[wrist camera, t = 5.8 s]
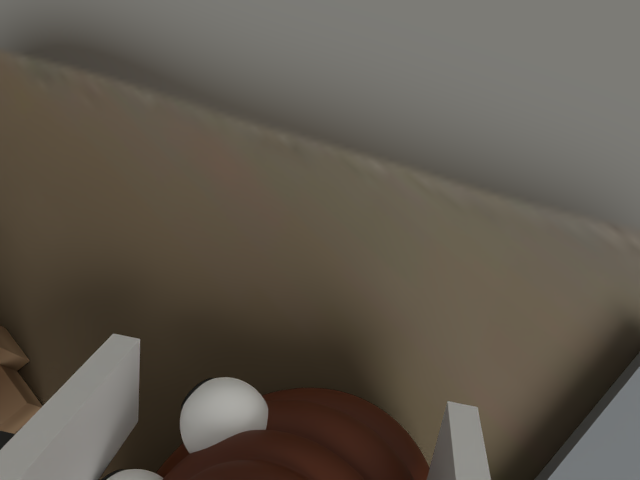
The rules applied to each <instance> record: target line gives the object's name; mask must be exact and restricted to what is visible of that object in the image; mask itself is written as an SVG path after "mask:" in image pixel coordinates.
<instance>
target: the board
mask: <svg viewBox="0 0 640 480" xmlns="http://www.w3.org/2000/svg"><path fill="white" fill-rule="evenodd" d="M535 480H640V352H639V353H638V354H637V356H636V357H635V358H634V359H633V361H632V362H631V363H630V364H629V365H628V367H627V368H626V369H625V370H624V371H623V373H622V374H621V375H620V376H619V378H618V379H617V380H616V381H615V382H614V384H613V385H612V386H611V387H610V388H609V390H608V391H607V392H606V393H605V395H604V396H603V397H602V398H601V399H600V401H599V402H598V403H597V404H596V405H595V407H594V408H593V409H592V410H591V412H590V413H589V414H588V415H587V416H586V418H585V419H584V420H583V421H582V422H581V424H580V425H579V426H578V427H577V429H576V430H575V431H574V432H573V433H572V435H571V436H570V437H569V438H568V439H567V441H566V442H565V443H564V444H563V446H562V447H561V448H560V449H559V450H558V452H557V453H556V454H555V455H554V456H553V458H552V459H551V460H550V461H549V463H548V464H547V465H546V466H545V467H544V469H543V470H542V471H541V472H540V473H539V475H538V476H537V477H536V478H535Z"/></svg>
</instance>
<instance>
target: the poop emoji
mask: <svg viewBox="0 0 640 480" xmlns="http://www.w3.org/2000/svg"><path fill="white" fill-rule="evenodd" d="M181 410H182V411H181V416H180V432H181V437H182V440H183V444H181V445H180V446H179V447H178V448H177V449H176V450H175V452H174V453H173V454H172V455H171V456H170V457H169V458H168V459H167V460H166V461H165V462H164V464H163V465H162V466H161V467H160V469H159V470H158V471H157V473H154V472H151V471H147V470H143V469H128V470H124V469H120V470H117V471H114V472H112V473H110V474H108V475H107V476H105V477H104V478H103V479H101V480H427V477H428V473H429V469H430V468H429V466H428V464H427V462H426V460H425V458H424V456H423V454H422V453H421V451H420V449H419V448H418V446H417V445H416V443H415V442H414V440H413V439H412V438H411V437H410V435H409V434H408V433H407V432H406V431H405V430H404V428H403V427H402V426H401V425H400V424H399V423H398V422H397V421H395V420H394V419H393V418H392V417H391V416H390V415H388V414H387V413H386V412H384V411H383V410H381V409H380V408H378V407H377V406H375V405H373V404H372V403H370V402H368V401H366V400H364V399H362V398H359V397H357V396H354V395H351V394H348V393H345V392H341V391H337V390H331V389H324V388H295V389H287V390H281V391H276V392H272V393H268V394H265V395H261V394H260V393H259V392H258V391H257V390H256V389H255V388H254V387H252V386H251V385H249V384H248V383H246V382H244V381H242V380H239V379H235V378H230V377H220V378H208V379H205V380H204V381H202V382H200V383H199V384H197V385H196V386H195V387H194V388H193V389H192V390H191V391H190V392H189V393H188V394H187V396H186V397H185V399H184V401H183V403H182V405H181Z"/></svg>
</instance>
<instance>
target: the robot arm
mask: <svg viewBox="0 0 640 480" xmlns="http://www.w3.org/2000/svg"><path fill="white" fill-rule="evenodd" d="M139 369H140V339H138V338H133V337H128V336H123V335H118V334H112V335H111V336H110V337H109V338H108V339H107V340H106V341H105V342H104V343H103V345H102V346H101V347H100V348H99V349H98V350H97V351H96V352H95V353H94V354H93V355H92V356H91V357H90V358H89V359H88V360H87V361H86V362H85V363H84V364H83V365H82V366H81V367H80V368H79V369H78V370H77V371H76V372H75V373H74V374H73V375H72V376H71V378H70V379H69V380H68V381H67V382H66V383H65V384H64V385H63V386H62V387H61V388H60V389H59V390H58V391H57V392H56V393H55V394H54V395H53V396H52V397H51V398H50V399H49V400H48V401H47V402H46V403H45V404H44V405H43V406H42V407H41V408H40V409H39V411H38V412H37V413H36V414H35V415H34V416H33V417H32V418H31V419H30V420H29V421H28V422H27V423H26V424H25V425H24V426H23V427H22V428H21V429H20V430H19V431H18V432H17V433H16V434H13V433H8V432H4V431H0V480H98V479H99V478H100V476H101V475H102V473H103V472H104V471H105V469H106V468H107V466H108V465H109V463H110V462H111V460H112V459H113V457H114V456H115V455H116V453H117V452H118V450H119V449H120V447H121V446H122V444H123V443H124V441H125V440H126V439H127V437H128V436H129V434H130V433H131V431H132V430H133V428H134V427H135V425H136V424H137V423H138V408H139ZM427 480H491V477H490V472H489V467H488V461H487V456H486V450H485V445H484V440H483V434H482V429H481V424H480V418H479V413H478V407H474V406H469V405H464V404H459V403H454V402H449V401H447V405H446V409H445V412H444V416H443V420H442V424H441V428H440V431H439V435H438V439H437V443H436V446H435V450H434V454H433V458H432V461H431V465H430V469H429V473H428V477H427Z"/></svg>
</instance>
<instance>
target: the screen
mask: <svg viewBox="0 0 640 480" xmlns="http://www.w3.org/2000/svg"><path fill="white" fill-rule="evenodd" d="M29 361H30V360H29V359H28V358H27V356H26V355H25V354H24V352H23V351H22V350H21V348H20V347H19V346H18V344H17V343H16V342H15V340H14V339H13V338H12V336H11V335H10V333H9V332H8V331H7V329H6V328H5V327H3V326H1V325H0V431H4V432H8V433H13V434H14V433H15V432H17V431H18V430H19V429H20V428H21V427H23V426H24V425H25V424H26V423H27V422H28V421H29V420H30V419H31V418H32V417H33V416H34V415H35V414H36V413H37V412H38V411H39V409H40V408H41V407H42V405H41V403H40V402H39V400H38V399H37V398H36V396H35V395H34V394H33V392H32V391H31V389H30V388H29V387H28V385H27V384H26V383H25V381H24V380H23V378H22V377H21V376H20V374H19V373H18V372H17V371H18V370H19V369H20V368H22V367H23V366H24V365H25V364H27V363H28V362H29Z"/></svg>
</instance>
